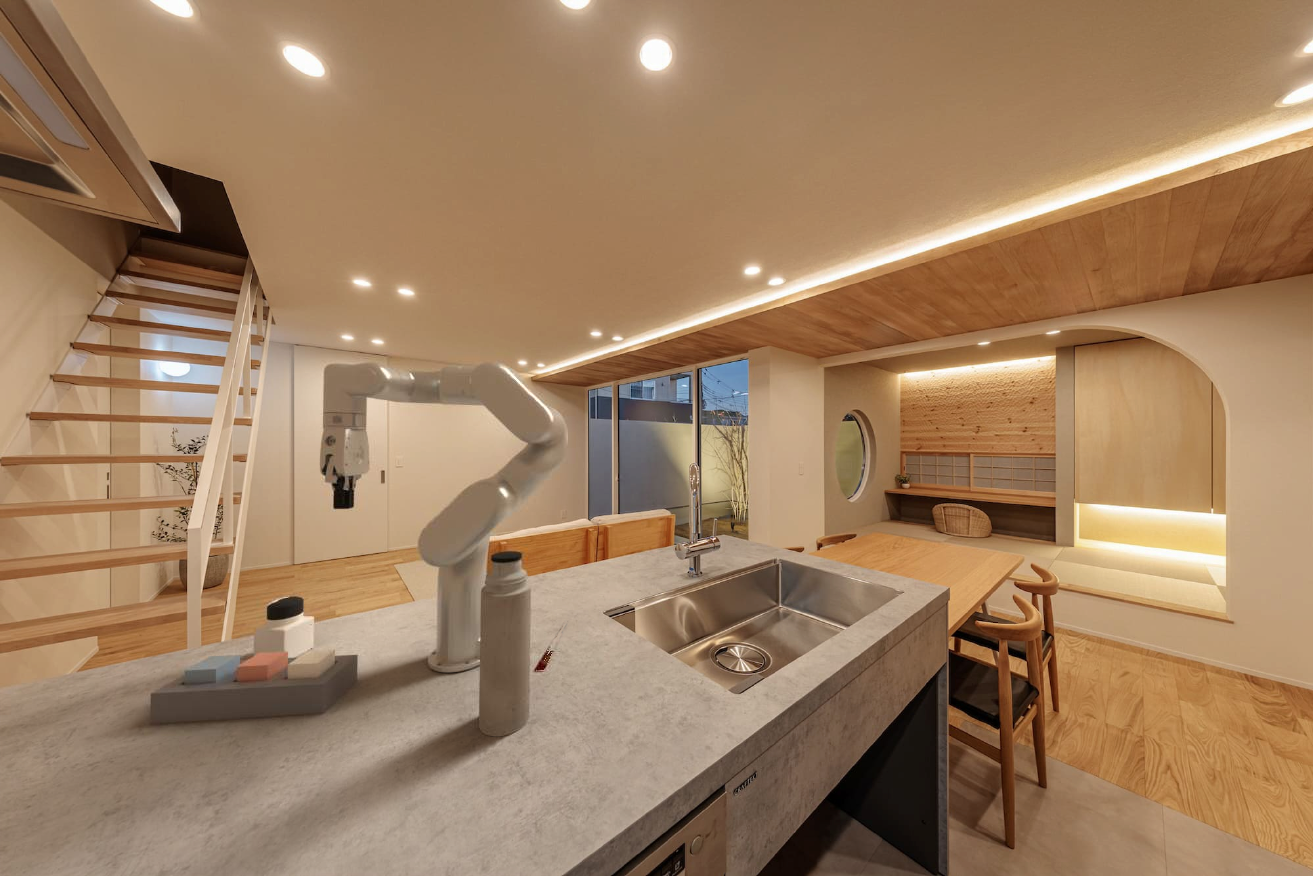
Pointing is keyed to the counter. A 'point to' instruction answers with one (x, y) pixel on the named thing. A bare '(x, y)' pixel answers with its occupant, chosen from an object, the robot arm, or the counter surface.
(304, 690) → the key panel
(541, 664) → the red handled knife
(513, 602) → the thermos bottle
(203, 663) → the slate-blue key
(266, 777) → the counter surface
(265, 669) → the terracotta key
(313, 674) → the off-white key
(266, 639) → the medicine bottle
